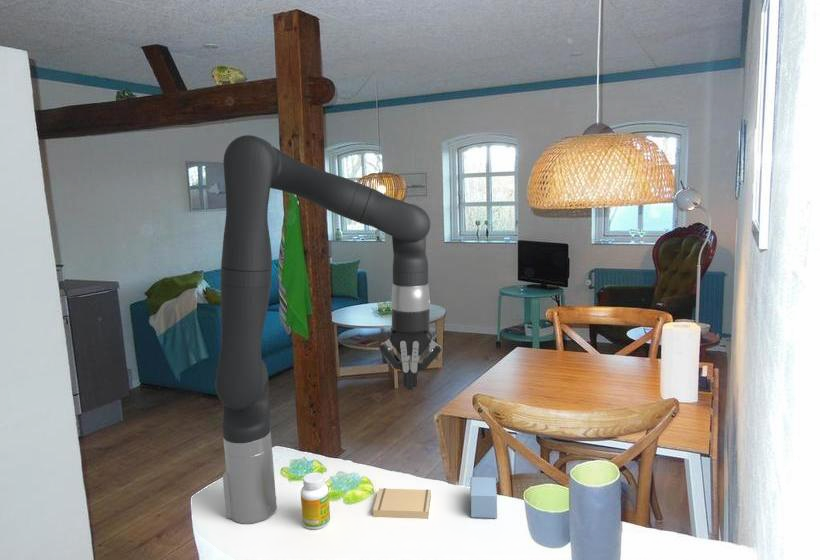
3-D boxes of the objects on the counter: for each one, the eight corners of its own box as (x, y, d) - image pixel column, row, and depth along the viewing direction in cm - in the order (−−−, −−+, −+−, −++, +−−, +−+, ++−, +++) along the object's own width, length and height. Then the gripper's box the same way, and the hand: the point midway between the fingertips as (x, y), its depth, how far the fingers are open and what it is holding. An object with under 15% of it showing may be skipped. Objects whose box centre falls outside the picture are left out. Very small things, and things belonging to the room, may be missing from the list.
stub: (470, 517, 117) (470, 495, 116) (470, 497, 124) (470, 477, 123) (496, 518, 117) (496, 496, 116) (495, 498, 124) (495, 477, 123)
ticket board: (373, 516, 119) (373, 509, 119) (379, 494, 127) (379, 488, 126) (428, 518, 118) (427, 511, 117) (430, 496, 126) (430, 489, 125)
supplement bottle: (324, 531, 115) (321, 485, 113) (298, 529, 116) (295, 483, 114) (333, 515, 120) (331, 471, 118) (308, 513, 121) (305, 469, 119)
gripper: (374, 309, 115) (375, 394, 118) (442, 311, 113) (441, 397, 116) (380, 300, 122) (381, 380, 125) (445, 302, 120) (444, 383, 124)
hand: (410, 388), depth 121 cm, fingers closed
